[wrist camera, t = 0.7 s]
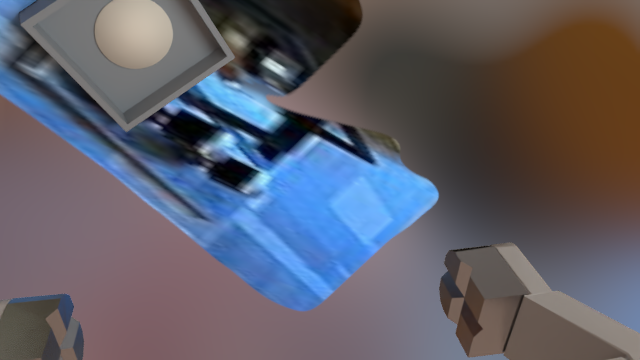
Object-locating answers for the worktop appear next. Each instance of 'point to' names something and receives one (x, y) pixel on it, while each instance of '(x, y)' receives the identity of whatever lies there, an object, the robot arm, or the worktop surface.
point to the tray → (119, 82)
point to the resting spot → (133, 33)
